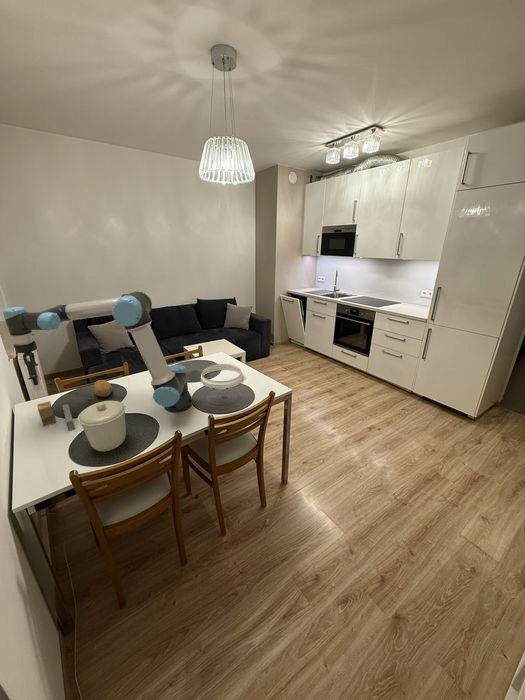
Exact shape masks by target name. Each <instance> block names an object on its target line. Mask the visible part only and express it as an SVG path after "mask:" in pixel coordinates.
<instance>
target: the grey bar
mask: <svg viewBox="0 0 525 700" xmlns="http://www.w3.org/2000/svg"><path fill="white" fill-rule="evenodd" d="M62 408H63V413H64V417H65V421H66V422H65V423H66V424H67V428H68V431H69V432H70V431H74V430H76V427H75V424H74V420H73V416H72V413H71V409H70V406H69V404H68V403H65V404H62Z"/></svg>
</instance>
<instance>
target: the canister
mask: <svg viewBox="0 0 525 700" xmlns="http://www.w3.org/2000/svg"><path fill="white" fill-rule="evenodd" d="M126 409H127V407H126V405H125V403H123V402H122V401H118V400H104V401H100V402H99V401H98V402H96V403H93V404H91V405H89V406H88V407H86V408H84V409H83V410H82V411H81V412H80V413H79V414H78V416H77V422H78V423H79V424H80V425H81V426H82V429H83V431H84V433H85V436H86V438H87V440H88V442H89V444H90V446H91V447H92V448H93V449H94V450H95V451H98V452H107V451H108V452H109V451H112V450H115V449H116V448H118V447H120V446H121V445H122V444H123V443H124V441H125V439H126V434H127V429H126V411H127V410H126Z"/></svg>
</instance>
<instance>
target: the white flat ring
mask: <svg viewBox="0 0 525 700" xmlns="http://www.w3.org/2000/svg"><path fill="white" fill-rule="evenodd" d="M216 371H231V372H235V373H238V376H237V377H235V378H231V379H227V380H211V379H208V378H206V377H205V374H206V375H207V373H208V374H210V373H212V372H216ZM242 381H243V372H242V370H241V368H240V367H239V366H237V365H235V364H234V365H233V364H231V363H230V364H229V363H217V364H216V363H215V364H212V365H209V366H207V367H205V368H204V369H203V370H202V372H201V375H200V382H201V384H202V385H203V387H204V386H205V387H207V388H208V387H209V389H212V388H215V389H214V390H227V389H226V388H228V389H232V388H234V387H236V386H238V385H240V384H241V383H242Z"/></svg>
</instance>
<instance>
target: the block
mask: <svg viewBox="0 0 525 700" xmlns="http://www.w3.org/2000/svg"><path fill="white" fill-rule="evenodd" d="M36 406H37V411H38V414H39V418H40V420H41V422H42V423H41V424H42V425H43V427H47V426H49V425H53V424H56V423H57V421H56V416H55V413H54V410H53V407H52V404H51V401H45V402H42V403H37V404H36Z"/></svg>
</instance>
